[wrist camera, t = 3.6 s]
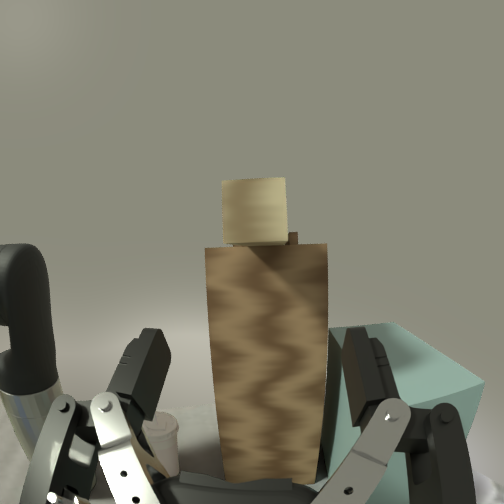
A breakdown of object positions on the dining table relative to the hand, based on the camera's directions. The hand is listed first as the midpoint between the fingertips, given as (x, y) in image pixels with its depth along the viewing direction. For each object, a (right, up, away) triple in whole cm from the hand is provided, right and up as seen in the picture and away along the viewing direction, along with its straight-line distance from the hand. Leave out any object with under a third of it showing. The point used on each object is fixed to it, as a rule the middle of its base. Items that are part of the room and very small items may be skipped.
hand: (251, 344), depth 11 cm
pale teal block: (+15, -27, +14) cm, 34 cm away
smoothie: (-12, -28, +18) cm, 36 cm away
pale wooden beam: (+2, +5, +20) cm, 20 cm away
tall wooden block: (+3, -27, +26) cm, 38 cm away
